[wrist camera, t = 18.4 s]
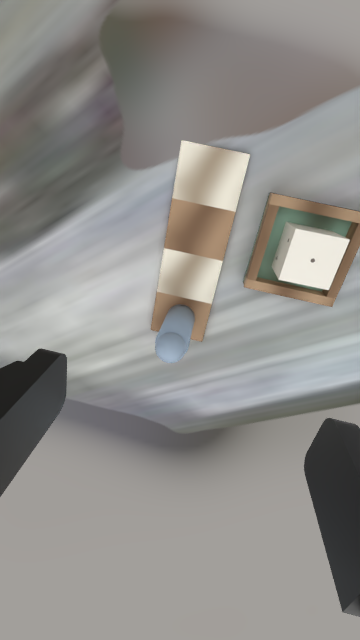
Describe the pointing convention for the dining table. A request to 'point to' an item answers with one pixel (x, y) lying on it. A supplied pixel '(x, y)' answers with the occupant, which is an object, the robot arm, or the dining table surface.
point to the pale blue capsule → (175, 334)
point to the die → (308, 255)
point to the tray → (308, 214)
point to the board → (198, 230)
